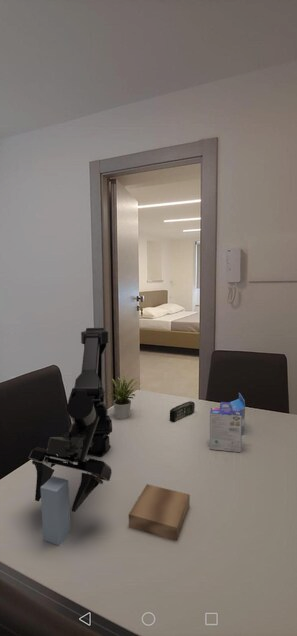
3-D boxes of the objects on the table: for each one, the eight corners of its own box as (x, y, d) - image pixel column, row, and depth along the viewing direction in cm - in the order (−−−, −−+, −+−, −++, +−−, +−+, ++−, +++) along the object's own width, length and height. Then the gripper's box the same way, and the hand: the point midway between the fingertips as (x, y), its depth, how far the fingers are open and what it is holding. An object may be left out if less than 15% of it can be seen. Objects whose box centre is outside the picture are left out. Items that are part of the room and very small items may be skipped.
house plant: (148, 411, 131) (148, 373, 129) (136, 426, 118) (135, 384, 116) (116, 407, 136) (116, 370, 134) (101, 421, 123) (100, 380, 121)
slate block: (43, 540, 67) (40, 487, 66) (55, 526, 71) (52, 476, 70) (59, 545, 66) (56, 491, 65) (70, 531, 70) (68, 480, 68)
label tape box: (227, 423, 121) (228, 391, 119) (238, 423, 120) (239, 391, 119) (233, 434, 112) (233, 401, 110) (244, 434, 112) (245, 401, 110)
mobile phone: (173, 411, 120) (198, 399, 131) (167, 409, 123) (192, 397, 133) (174, 424, 121) (198, 411, 132) (168, 421, 123) (192, 409, 134)
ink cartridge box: (240, 444, 106) (241, 401, 104) (241, 453, 100) (243, 408, 98) (209, 441, 107) (210, 399, 106) (209, 449, 102) (210, 406, 100)
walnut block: (128, 528, 71) (128, 514, 70) (146, 497, 81) (146, 484, 81) (176, 542, 67) (177, 527, 67) (189, 507, 77) (189, 494, 77)
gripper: (32, 413, 73) (-3, 487, 65) (104, 426, 67) (76, 510, 58) (54, 431, 82) (26, 498, 73) (121, 443, 75) (99, 519, 66)
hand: (54, 506), depth 67 cm, fingers open, 9 cm apart
